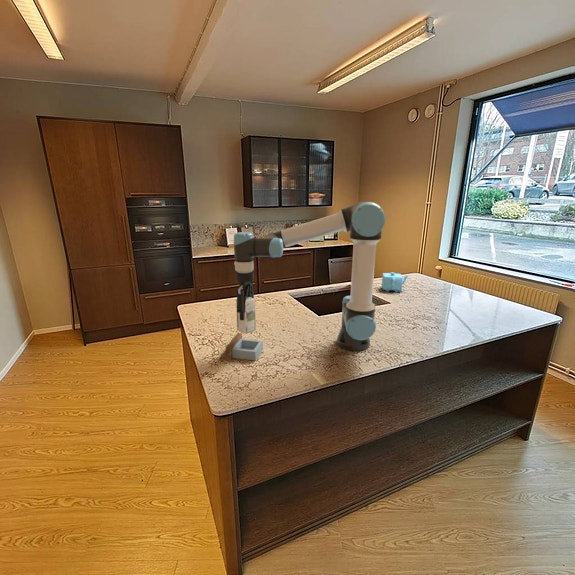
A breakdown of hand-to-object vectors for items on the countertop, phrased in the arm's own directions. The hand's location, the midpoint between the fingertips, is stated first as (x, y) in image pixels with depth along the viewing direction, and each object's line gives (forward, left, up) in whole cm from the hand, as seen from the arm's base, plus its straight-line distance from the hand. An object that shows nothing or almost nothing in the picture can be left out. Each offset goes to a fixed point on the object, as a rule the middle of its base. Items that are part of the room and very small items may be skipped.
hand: (246, 322), depth 137 cm
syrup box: (0, 0, -4) cm, 4 cm away
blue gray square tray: (0, 0, -15) cm, 15 cm away
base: (+8, 0, -15) cm, 17 cm away
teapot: (-72, -110, -15) cm, 132 cm away
